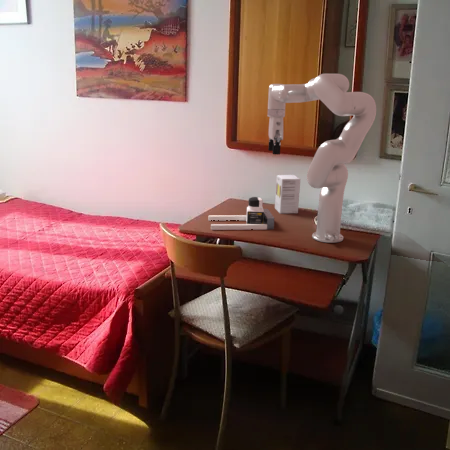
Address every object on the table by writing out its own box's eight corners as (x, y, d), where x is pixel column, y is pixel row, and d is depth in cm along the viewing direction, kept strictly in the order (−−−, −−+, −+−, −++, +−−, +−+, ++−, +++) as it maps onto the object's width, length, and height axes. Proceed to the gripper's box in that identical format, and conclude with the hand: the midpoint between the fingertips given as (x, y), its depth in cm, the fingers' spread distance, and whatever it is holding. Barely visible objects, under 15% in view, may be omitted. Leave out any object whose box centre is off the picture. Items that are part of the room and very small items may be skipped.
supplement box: (274, 208, 263) (276, 174, 258) (292, 207, 264) (294, 174, 259) (279, 213, 254) (282, 178, 249) (298, 213, 255) (300, 178, 251)
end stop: (273, 229, 230) (274, 218, 228) (266, 229, 229) (267, 218, 228) (267, 219, 244) (267, 208, 242) (260, 219, 244) (261, 208, 242)
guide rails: (266, 229, 229) (267, 224, 229) (211, 229, 227) (211, 225, 226) (260, 219, 244) (261, 215, 243) (208, 219, 241) (208, 215, 240)
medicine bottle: (246, 226, 233) (247, 199, 229) (246, 221, 240) (247, 195, 236) (263, 226, 233) (264, 200, 229) (262, 222, 240) (263, 196, 236)
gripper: (289, 115, 225) (286, 155, 230) (280, 111, 241) (278, 149, 246) (271, 115, 224) (269, 155, 229) (264, 111, 240) (262, 149, 245)
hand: (274, 152), depth 238 cm, fingers open, 9 cm apart
